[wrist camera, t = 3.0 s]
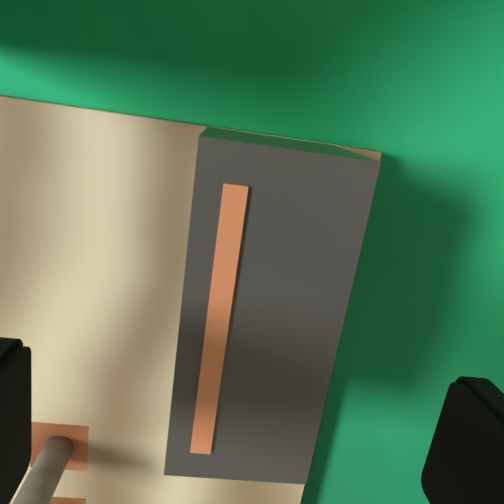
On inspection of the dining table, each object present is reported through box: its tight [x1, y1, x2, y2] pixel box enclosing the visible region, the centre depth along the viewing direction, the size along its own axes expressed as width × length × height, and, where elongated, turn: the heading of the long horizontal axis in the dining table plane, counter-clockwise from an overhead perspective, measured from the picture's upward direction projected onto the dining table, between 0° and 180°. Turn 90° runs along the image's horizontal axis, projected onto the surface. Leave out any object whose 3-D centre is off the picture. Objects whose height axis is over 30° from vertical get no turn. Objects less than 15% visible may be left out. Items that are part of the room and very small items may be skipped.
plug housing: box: [164, 127, 381, 485], centre depth 14 cm, size 4×10×5 cm, turn 172°
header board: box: [0, 95, 382, 504], centre depth 17 cm, size 16×24×5 cm, turn 172°
